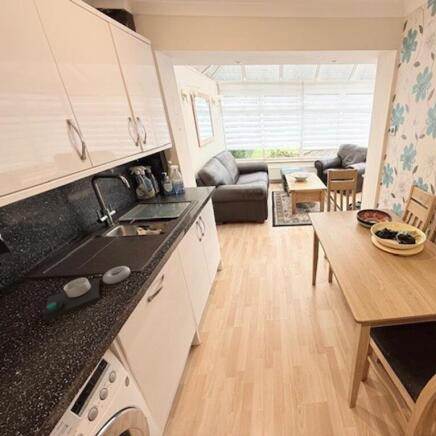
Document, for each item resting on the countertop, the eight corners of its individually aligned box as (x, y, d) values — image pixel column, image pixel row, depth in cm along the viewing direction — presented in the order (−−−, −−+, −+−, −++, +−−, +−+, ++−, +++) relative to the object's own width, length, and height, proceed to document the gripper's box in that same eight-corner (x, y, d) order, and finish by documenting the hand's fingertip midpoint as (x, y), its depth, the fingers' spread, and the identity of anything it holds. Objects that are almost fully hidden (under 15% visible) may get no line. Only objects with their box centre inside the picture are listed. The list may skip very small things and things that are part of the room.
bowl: (63, 297, 92) (58, 289, 90) (82, 284, 98) (77, 276, 96) (78, 299, 90) (73, 291, 88) (95, 286, 96) (91, 278, 95)
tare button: (47, 311, 84) (45, 308, 83) (48, 307, 86) (47, 304, 85) (57, 307, 85) (55, 305, 85) (58, 303, 87) (56, 301, 87)
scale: (44, 322, 83) (40, 316, 82) (50, 300, 93) (46, 294, 92) (100, 300, 91) (96, 294, 90) (99, 281, 101) (96, 276, 100)
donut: (105, 277, 105) (103, 289, 97) (101, 270, 103) (100, 282, 95) (131, 268, 109) (131, 279, 102) (128, 261, 108) (128, 272, 100)
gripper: (-43, 206, 73) (-9, 252, 80) (-72, 224, 60) (-28, 277, 68) (-7, 199, 77) (22, 244, 84) (-28, 215, 64) (9, 266, 72)
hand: (0, 259), depth 76 cm, fingers open, 9 cm apart
